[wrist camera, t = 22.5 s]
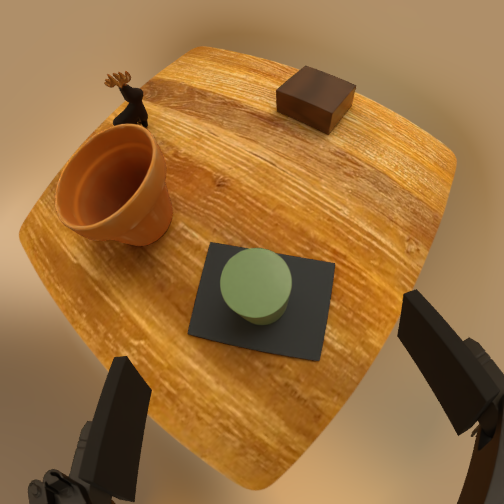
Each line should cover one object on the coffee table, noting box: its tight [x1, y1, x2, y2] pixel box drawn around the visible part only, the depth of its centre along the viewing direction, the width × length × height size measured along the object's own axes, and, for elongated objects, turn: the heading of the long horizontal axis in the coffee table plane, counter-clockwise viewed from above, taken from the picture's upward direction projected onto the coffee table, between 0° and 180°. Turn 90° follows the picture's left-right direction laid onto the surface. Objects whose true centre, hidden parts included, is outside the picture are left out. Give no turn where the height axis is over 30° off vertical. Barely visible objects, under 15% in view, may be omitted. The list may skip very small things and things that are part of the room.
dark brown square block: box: [276, 66, 356, 135], centre depth 40 cm, size 10×10×5 cm
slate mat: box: [188, 242, 335, 361], centre depth 32 cm, size 16×12×1 cm
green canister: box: [220, 248, 292, 325], centre depth 27 cm, size 6×6×10 cm
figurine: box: [105, 71, 148, 127], centre depth 38 cm, size 11×7×15 cm
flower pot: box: [55, 124, 173, 246], centre depth 32 cm, size 14×14×13 cm
